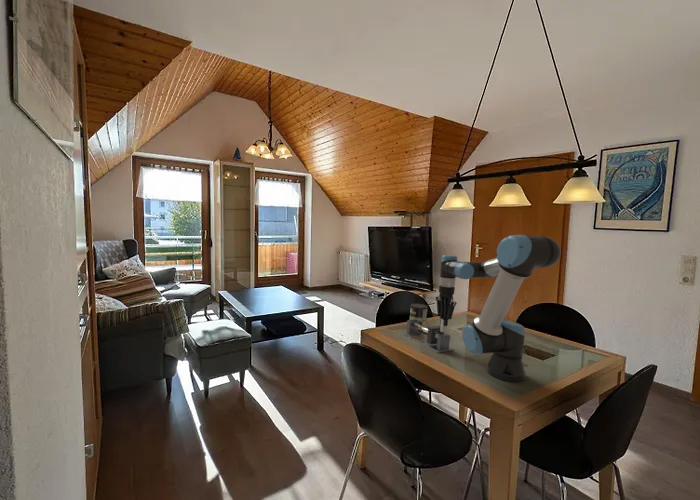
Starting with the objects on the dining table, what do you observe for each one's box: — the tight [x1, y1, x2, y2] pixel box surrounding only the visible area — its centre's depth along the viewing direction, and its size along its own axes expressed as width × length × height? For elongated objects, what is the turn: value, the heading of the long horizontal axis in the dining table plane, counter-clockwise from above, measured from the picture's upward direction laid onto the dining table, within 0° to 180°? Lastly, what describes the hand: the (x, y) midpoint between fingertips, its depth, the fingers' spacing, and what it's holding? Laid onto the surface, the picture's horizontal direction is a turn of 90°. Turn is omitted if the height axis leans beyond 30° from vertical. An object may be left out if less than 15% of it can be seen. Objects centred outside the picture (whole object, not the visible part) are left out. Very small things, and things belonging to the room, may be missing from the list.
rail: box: [402, 319, 454, 354], centre depth 182 cm, size 30×10×8 cm, turn 26°
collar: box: [426, 325, 445, 345], centre depth 176 cm, size 3×8×8 cm, turn 116°
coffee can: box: [409, 303, 428, 332], centre depth 205 cm, size 10×10×14 cm
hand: (443, 331), depth 171 cm, fingers closed
